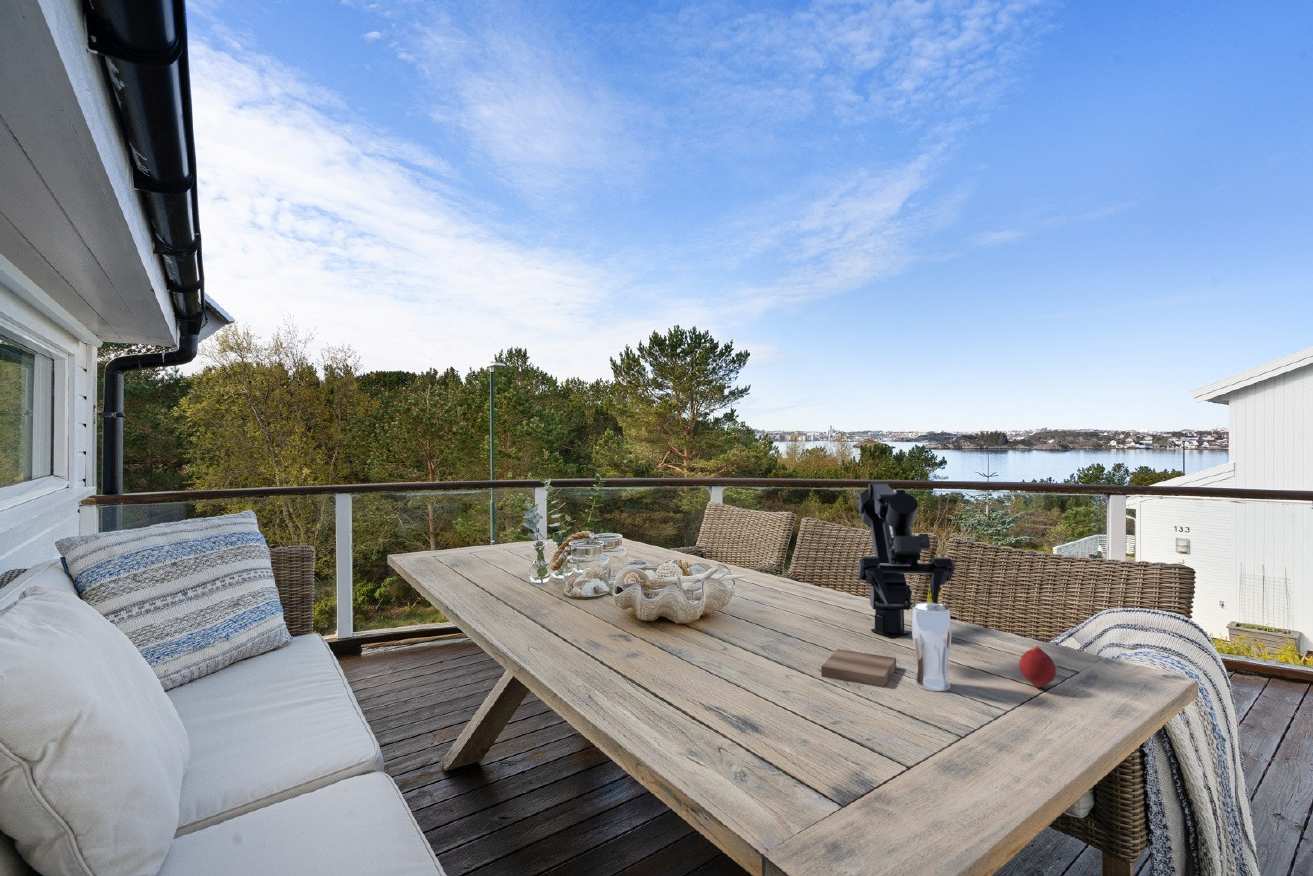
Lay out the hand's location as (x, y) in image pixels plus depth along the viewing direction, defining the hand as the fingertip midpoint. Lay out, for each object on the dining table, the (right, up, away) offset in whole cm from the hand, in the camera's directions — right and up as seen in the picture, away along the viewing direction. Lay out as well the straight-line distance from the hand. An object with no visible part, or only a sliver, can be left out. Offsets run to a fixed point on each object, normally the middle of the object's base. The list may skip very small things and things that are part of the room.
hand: (911, 605), depth 127 cm
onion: (+19, -13, -11) cm, 26 cm away
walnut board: (-11, -13, -1) cm, 17 cm away
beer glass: (+1, -13, -8) cm, 16 cm away
